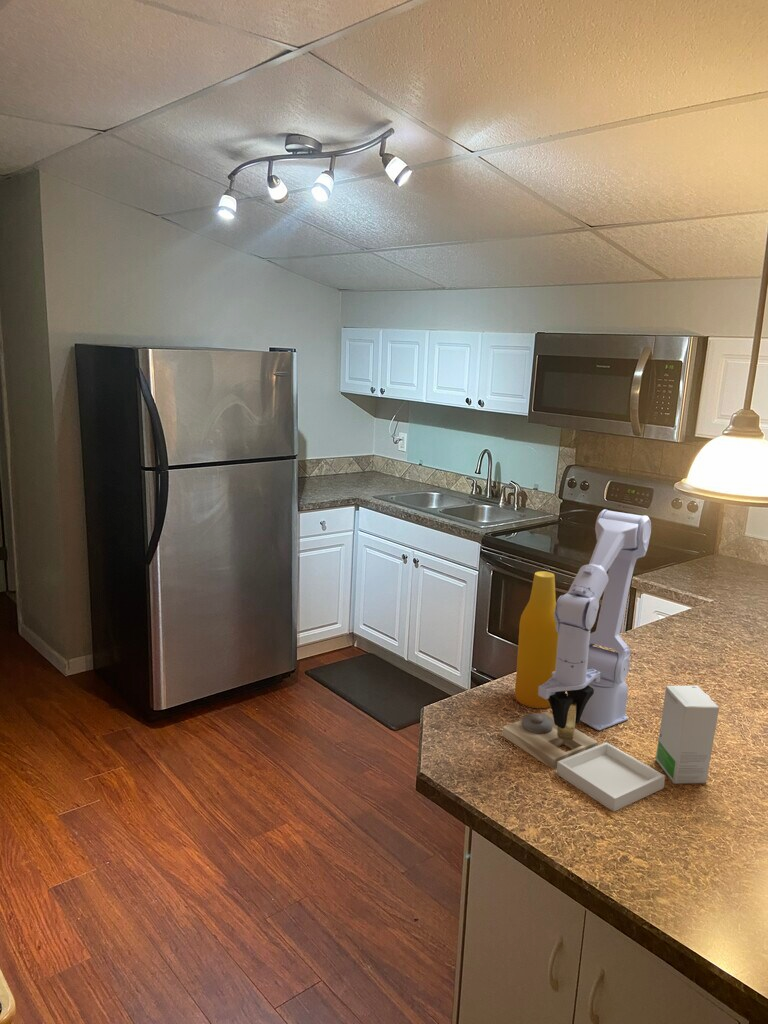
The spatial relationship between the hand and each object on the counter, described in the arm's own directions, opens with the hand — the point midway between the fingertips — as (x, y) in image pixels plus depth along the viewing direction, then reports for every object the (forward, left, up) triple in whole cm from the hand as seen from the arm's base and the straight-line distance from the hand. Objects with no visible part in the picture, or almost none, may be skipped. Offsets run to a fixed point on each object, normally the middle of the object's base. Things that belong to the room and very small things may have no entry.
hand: (566, 723), depth 142 cm
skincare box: (-14, +16, -6) cm, 22 cm away
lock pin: (0, 0, -3) cm, 3 cm away
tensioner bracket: (0, -4, -6) cm, 7 cm away
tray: (0, +11, -6) cm, 13 cm away
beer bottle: (-11, -19, -6) cm, 23 cm away
